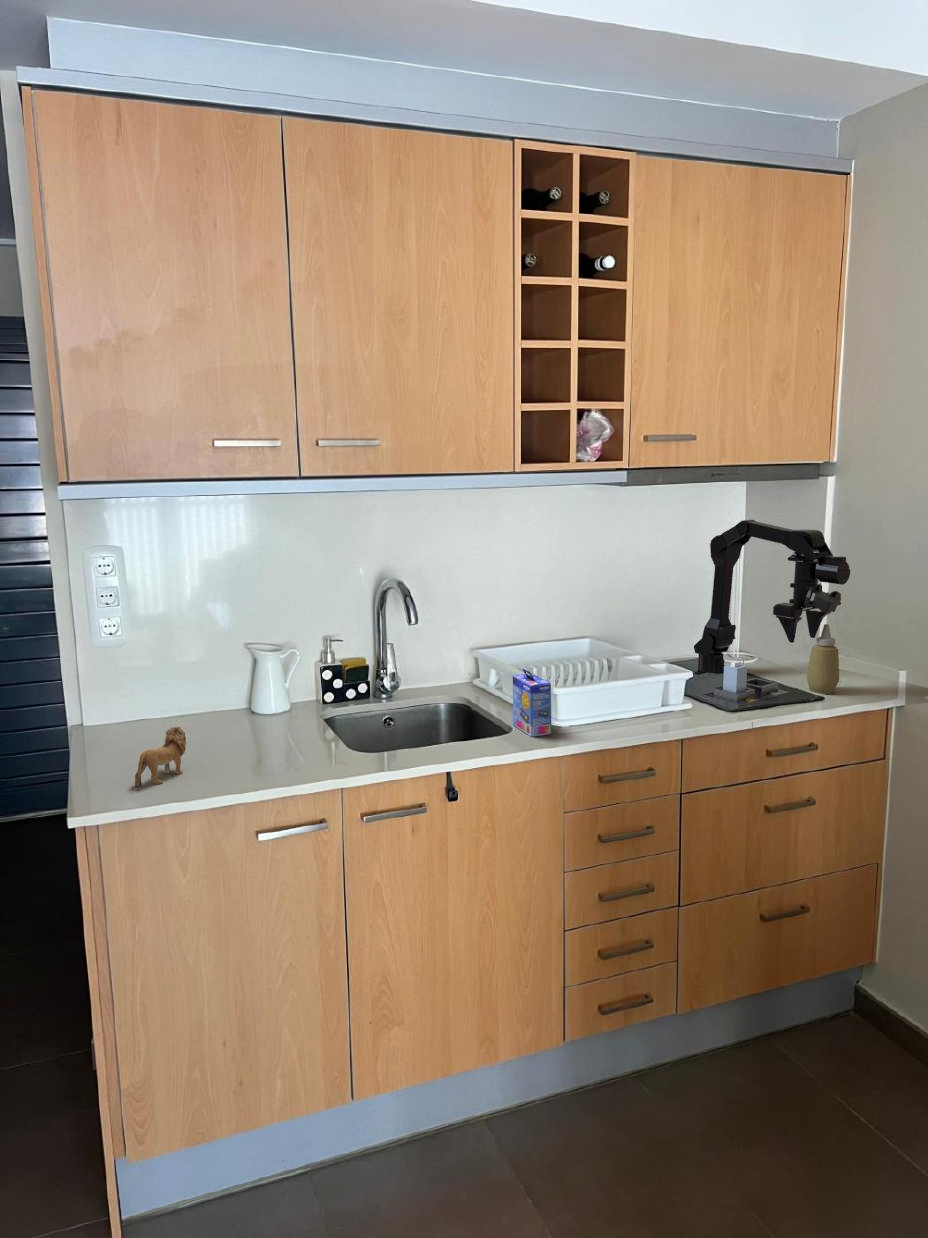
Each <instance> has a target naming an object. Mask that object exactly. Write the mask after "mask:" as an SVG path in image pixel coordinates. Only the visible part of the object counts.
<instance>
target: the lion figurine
mask: <svg viewBox="0 0 928 1238" xmlns="http://www.w3.org/2000/svg"><path fill="white" fill-rule="evenodd" d="M186 740H187V736H186V732H185V731H184V729H183V728H182V727H180V726H175V725H174V726H171V727H169V728H168V729H167V730H166V731H165V738H164V744H163V745H162V746H159V747H158V748H151V749H147V750H144V751H143V752H142V753H141V754H140V756H139V760H138V765H137V771H136V773H135V775H134V785H135V786H136V787H137V789H141V788H142V783H143V782H142V774H143V773H144V772H145V770H146V769H147V768H148V769H149V771H150V774H151V776H150V778H151V780H152V781H154V783H155V784H156V785H160V784H163V782H164V781H163V780H162V779H158V776H157V775H158V769H159V766H164V773H165V774H170V773H171V772H172V771H171V767H170V763H171V762H172V761H173V762H174V764H175V773H176V774H178V775H182V774H183V773H184V772H183V770H181V764H182V758H181V757H182V756H183V755H184V754H185V753H186V749H187V748H186V745H187V741H186Z"/></svg>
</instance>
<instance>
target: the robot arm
mask: <svg viewBox="0 0 928 1238" xmlns="http://www.w3.org/2000/svg"><path fill="white" fill-rule="evenodd" d="M751 538H756V539H760V540H763V541H769V542H773V543H777V544H781V545H784V547H786V548H788V549H789V550H790V551H792V552H793V554H791V555H790V556H789V557H787V561H789V562H794V563H795V564H794V577H793V580H794V581H793V582H790V584H789V585H790V586H789V588H792V589H793V594H792V598H790V599H789V601H788V602H780V603H776V604H774V606H773V607H772V608H773V609H772V615H773V616H775V618H777V619H778V621H779V623H780V625H781V627H782V628H783V631H784V633H785V636H786V638H787V640H788V642H789V643H792V644H793V643H794V642H795V639H796V633H797V627H798V623H799V622H800V621H801V620H802V619H803V617H801V616H802V614H803V612H805V617H806V622H807V628H808V633H809V637H810V638H811V639H814V638H815V639H816V637H817V636H816V635H817V633H818V631H819V628H820V626H821V623H822V621H823V619H824V618H825V617H826V616H828V615H829V614H831V613H835V612H836V610H837V607H838V606H841V605H842V602H841V601H842V594H841V592H839V591H837V590H834V591H832V592H829V591H828V592H825V591H823V585H822V584H821V583H826V584H835V585H842V586H843V585H845V584H846V583H848V580H849V579H850V576H851V569H850V565H849V563H848V562H847V557H846V556H840V555H839V556H834V554H833V552H832V550H831V549H830V547H829V545H828V544H827V542H826V539H825V536H824V535H823V532H822V531H820V530H818V529H792V528H787V527H782V526H779V525H774V524H773V525H772V524H769V523H765V522H760V521H757V520H754V519H743V520H741V521H739V522H738V523H737V524H735V525H734V526H732V527H730V528H729V529H727V530H724V532H723V533H720V534H718V535H716V536H714V537H712V538H711V540H710V543H709V547H710V548H709V551H710V559H711V560H712V564H713V565H714V573H713V574H714V575H713V583H712V584H713V587H712V593H711V595H712V596H711V609H710V616H709V619H708V620H707V622H706V624H705V625H704V628H703V632H702V636H701V638H700V639H699V640H698V641H697V642H696V643H695V644H694V645H693V649H694V653H695V654H698V664H697V670H694V672H693V673H694V674H697V675H703V674H716V675H719V674H724V666H725V659H724V653H727V652H728V650H729V649H730V646H731V645H733V641H734V640H735V639H736V629H737V626H736V624H733V623H732V622H731V620H730V608H731V607H730V605H731V596H732V588H733V586H732V585H733V577H734V568H735V565H736V564H737V562H738V561H739V559H740V558H741V553H742V548H743V547H744V546H745V545H746V544H747V543H749V541H750V539H751ZM819 582H821V583H819Z"/></svg>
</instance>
